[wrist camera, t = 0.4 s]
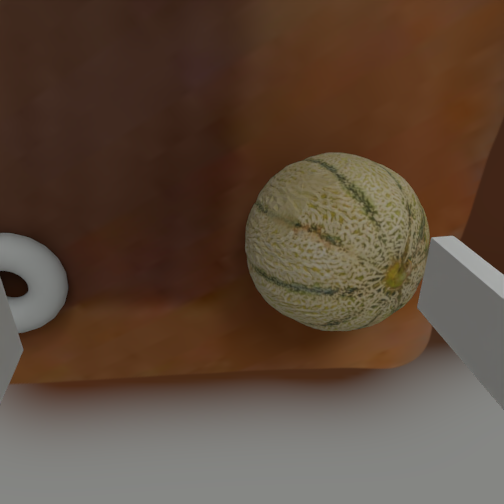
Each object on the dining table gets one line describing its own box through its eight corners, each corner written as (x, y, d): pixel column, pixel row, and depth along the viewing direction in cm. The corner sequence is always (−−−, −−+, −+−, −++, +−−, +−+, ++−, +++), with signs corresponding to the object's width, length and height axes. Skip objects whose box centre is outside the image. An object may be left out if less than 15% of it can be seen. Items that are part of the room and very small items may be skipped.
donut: (-27, 207, 39) (-60, 298, 42) (-44, 222, 36) (-77, 320, 39) (87, 252, 42) (49, 333, 45) (81, 269, 39) (41, 355, 42)
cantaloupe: (201, 217, 42) (217, 307, 29) (315, 97, 39) (392, 137, 26) (304, 300, 48) (356, 405, 35) (410, 203, 45) (510, 279, 32)
